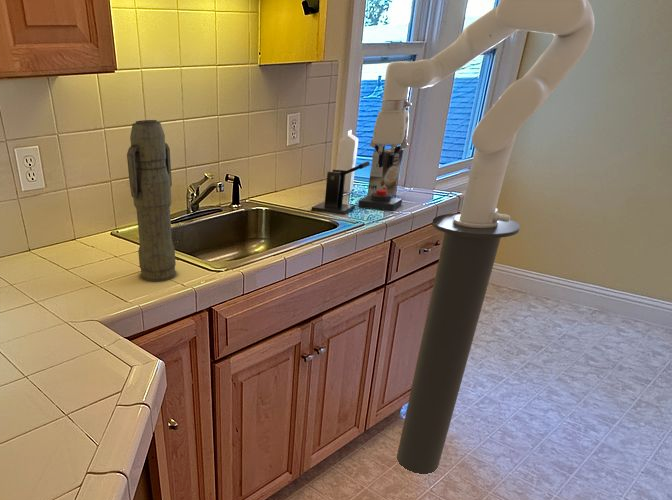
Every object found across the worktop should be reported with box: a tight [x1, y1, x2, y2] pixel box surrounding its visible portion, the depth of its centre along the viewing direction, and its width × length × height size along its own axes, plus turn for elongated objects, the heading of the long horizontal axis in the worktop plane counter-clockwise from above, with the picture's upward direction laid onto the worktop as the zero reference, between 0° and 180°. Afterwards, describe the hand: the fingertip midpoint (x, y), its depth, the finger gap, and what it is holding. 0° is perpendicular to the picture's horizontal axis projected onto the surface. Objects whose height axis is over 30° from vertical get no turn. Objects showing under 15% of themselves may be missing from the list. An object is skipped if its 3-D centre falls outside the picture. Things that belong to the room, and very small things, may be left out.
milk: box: [335, 129, 360, 193], centre depth 193 cm, size 6×6×22 cm
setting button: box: [376, 189, 387, 196], centre depth 173 cm, size 4×4×2 cm
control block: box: [357, 193, 403, 212], centre depth 174 cm, size 12×9×4 cm
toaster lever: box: [339, 161, 371, 179], centre depth 165 cm, size 12×6×2 cm, turn 51°
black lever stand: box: [311, 168, 356, 215], centre depth 171 cm, size 12×9×13 cm
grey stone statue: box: [126, 119, 177, 282], centre depth 116 cm, size 9×12×35 cm
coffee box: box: [366, 148, 404, 197], centre depth 185 cm, size 9×6×16 cm
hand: (385, 166), depth 169 cm, fingers closed
